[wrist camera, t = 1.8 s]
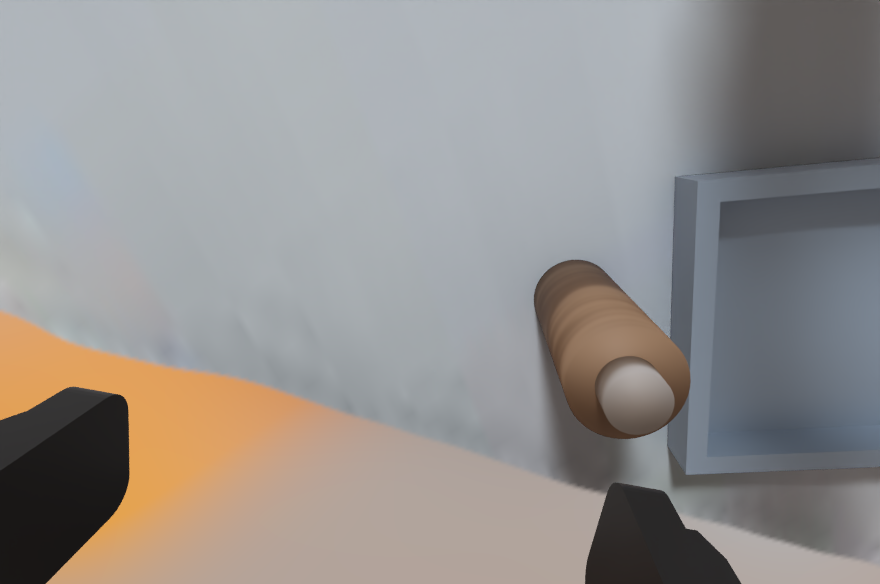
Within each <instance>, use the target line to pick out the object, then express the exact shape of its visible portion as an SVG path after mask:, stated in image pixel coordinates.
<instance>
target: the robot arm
mask: <svg viewBox="0 0 880 584" xmlns="http://www.w3.org/2000/svg"><path fill="white" fill-rule="evenodd" d="M128 482H129V423H128V405H127V402H126V400H125V399H124V397H123V396H121V395H118V394H112V393H106V392H101V391H95V390H90V389H84V388H79V387H69V388H66V389H64V390H62V391H60V392H59V393H57V394H55V395H54V396H52V397H51V398H49V399H47V400H46V401H44V402H42V403H40V404H39V405H37V406H35V407H34V408H32V409H30V410H28V411H26V412H23V413H20V414H17V415H14V416H11V417H9V418H6V419H3V420H0V584H46V583H47V582H48V581H49V580H50V579H51V578H52V577H53V576H54V575H55V574H56V573H57V571H58V570H60V568H61V567H62V566H63V565H64V564H65V563H66V562H67V561H68V560H69V559H70V558H71V557H72V556H73V555H74V554H75V553H76V552H77V551H78V550H79V549H80V548H81V547H82V546H83V545H84V544H85V543H86V542H87V541H88V540H89V539H90V538H91V537H92V536H93V535H94V534H95V533H96V532H97V531H98V530H99V529H100V527H102V526H103V525H104V524H105V523H106V522H107V521H108V520H109V519H110V517H111V516H112V515H113V514H114V512H115V511H116V510H117V509H118V507H119V505H120V503H121V502H122V500H123V497H124V495H125V493H126V490H127V486H128ZM585 584H741V583H740V581H739V579H738V578H737V576H736V574H735V572H734V571H733V569H732V568H731V566H730V564H729V563H728V561H727V559H726V558H725V557H724V556H723V555H722V554H720V552H718V551H717V550H716V549H715V548H714V547H713V546H712V545H711V544H710V543H709V542H708V541H707V540H706V539H705V538H704V537H703V536H702V535H701V534H700V533H699V532H698V531H696V530H690V529H686V528H685V526H684V525H683V523H682V521H681V519H680V517H679V515H678V514H677V512H676V510H675V508H674V506H673V504H672V503H671V501H670V499H669V497H668V496H667V494H666V493H665V492H663V491H661V490H656V489H650V488H645V487H639V486H633V485H628V484H622V483H616V482H615V483H613V484H612V485H611V487H610V488H609V490H608V493H607V496H606V499H605V502H604V506H603V509H602V512H601V516H600V519H599V522H598V526H597V529H596V532H595V536H594V539H593V542H592V546H591V549H590V552H589V556H588V560H587V565H586V575H585Z"/></svg>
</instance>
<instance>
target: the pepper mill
mask: <svg viewBox="0 0 880 584" xmlns="http://www.w3.org/2000/svg"><path fill="white" fill-rule="evenodd" d="M534 306H535V310H536V313H537V316H538V319H539V321H540V324H541V327H542V330H543V333H544V336H545V339H546V342H547V344H548V347H549V350H550V353H551V356H552V359H553V362H554V365H555V367H556V370H557V373H558V376H559V379H560V382H561V385H562V388H563V390H564V393H565V396H566V399H567V402H568V404H569V407H570V409H571V411H572V412H573V414H574V416H575V417H576V418H577V419H578V420H579V421H580V422H581V423H582V424H583V425H584V426H585V427H587V428H588V429H590V430H591V431H593V432H595V433H597V434H600V435H603V436H606V437H610V438H617V439H630V438H637V437H642V436H645V435H648V434H651V433H653V432H655V431H657V430H659V429H661V428H662V427H664V426H665V425H667V424H668V423H669V422H671V421H672V420H673V419H674V418H675V417H676V416H677V414H678V413H679V412H680V410H681V409H682V407H683V406H684V404H685V402H686V399H687V397H688V394H689V390H690V383H691V378H690V370H689V366H688V363H687V360H686V358H685V356H684V355H683V353H682V352H681V350H680V349H679V348H678V347H677V346H676V345H675V344H674V343H673V342H672V340H671V339H670V338H669V337H668V336H667V335H666V334H665V333H664V332H663V331H662V330H661V329H660V328H659V327H658V326H657V325H656V324H655V323H654V322H653V321H652V320H651V319H650V318H649V317H648V316H647V315H646V314H645V313H644V312H643V311H642V310H641V309H640V308H639V307H638V305H637V304H636V303H635V302H634V301H633V300H632V299H631V298H630V297H629V296H628V295H627V294H626V293H625V292H624V291H623V290H622V289H621V288H620V287H619V286H618V285H617V284H616V283H615V282H614V281H613V280H612V279H611V278H610V277H609V276H608V275H607V274H606V273H605V272H604V271H603V270H602V269H601V268H600V267H599V266H597V265H595V264H593V263H591V262H588V261H584V260H569V261H565V262H561V263H559V264H557V265H555V266H553V267H552V268H550V269H549V270H548V271H547V272H546V273H545V274H544V275H543V276H542V277H541V279H540V280H539V282H538V284H537V286H536V289H535V294H534Z"/></svg>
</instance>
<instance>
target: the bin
mask: <svg viewBox="0 0 880 584" xmlns="http://www.w3.org/2000/svg"><path fill="white" fill-rule="evenodd" d="M671 340H672V342H673V343H674V344H675V345H676V346H677V347H678V348H679V349H680V350H681V352H682V353H683V355H684V356H685V358H686V360H687V363H688V366H689V370H690V378H691V383H690V390H689V394H688V397H687V399H686V402H685V404H684V406H683V407H682V409H681V410H680V412H679V413H678V414H677V416H676V417H675V418H674V419H673V420H672V421H671V422H669V423H668V447H669V449H670V450H671V452H672V453H673V455H674V457H675V458H676V460H677V461H678V463H679V465H680V466H681V468H682V469H683V471H684V473H685V474H686V475H694V474H719V473H744V472H769V471H793V470H818V469H843V468H868V467H880V158H872V159H861V160H850V161H840V162H829V163H818V164H807V165H797V166H786V167H775V168H764V169H754V170H743V171H732V172H721V173H711V174H700V175H689V176H678V177H675V201H674V236H673V271H672V306H671Z"/></svg>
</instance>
